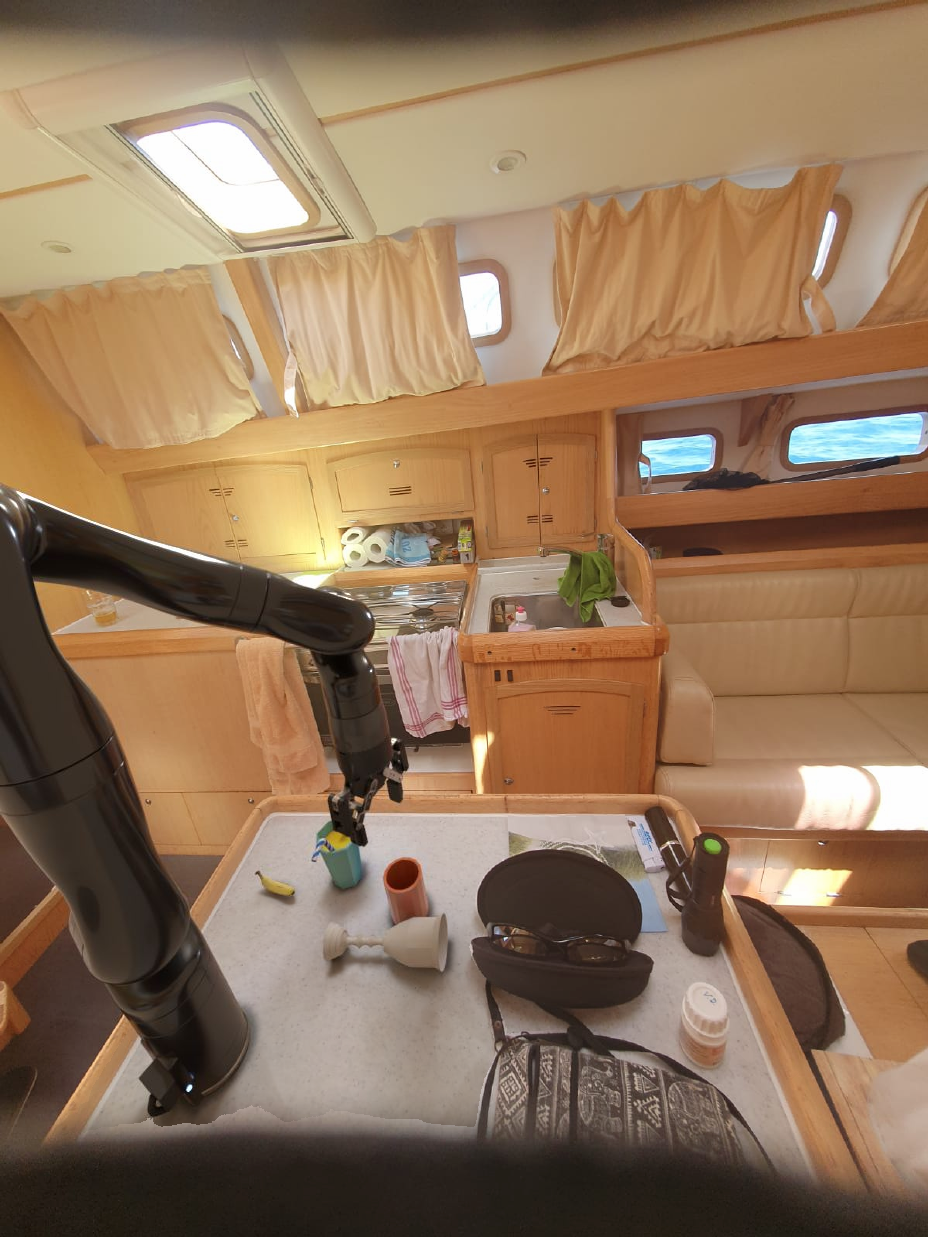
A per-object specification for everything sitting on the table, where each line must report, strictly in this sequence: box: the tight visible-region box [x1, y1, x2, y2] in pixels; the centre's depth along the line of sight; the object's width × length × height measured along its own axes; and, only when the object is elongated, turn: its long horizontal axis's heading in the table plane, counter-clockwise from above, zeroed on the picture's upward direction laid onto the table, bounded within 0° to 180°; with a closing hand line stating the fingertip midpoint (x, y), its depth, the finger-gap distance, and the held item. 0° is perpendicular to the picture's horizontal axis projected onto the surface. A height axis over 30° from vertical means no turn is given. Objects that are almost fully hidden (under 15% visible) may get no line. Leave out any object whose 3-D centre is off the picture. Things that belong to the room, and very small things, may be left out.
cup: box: [311, 810, 363, 890], centre depth 79 cm, size 14×8×15 cm, turn 173°
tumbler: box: [382, 856, 429, 925], centre depth 74 cm, size 6×6×9 cm
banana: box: [254, 870, 296, 897], centre depth 80 cm, size 8×2×4 cm, turn 69°
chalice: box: [322, 912, 449, 973], centre depth 69 cm, size 7×7×18 cm
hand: (379, 820), depth 66 cm, fingers open, 8 cm apart
